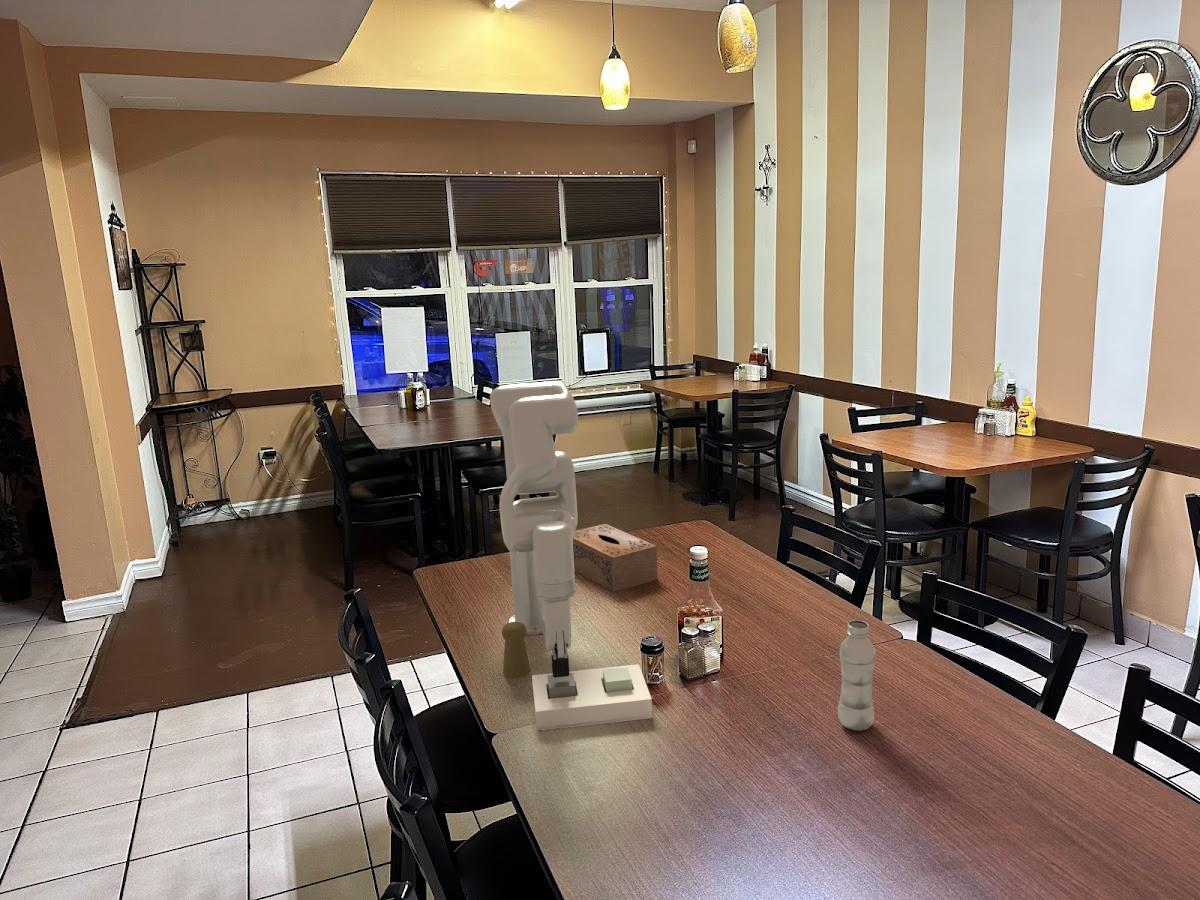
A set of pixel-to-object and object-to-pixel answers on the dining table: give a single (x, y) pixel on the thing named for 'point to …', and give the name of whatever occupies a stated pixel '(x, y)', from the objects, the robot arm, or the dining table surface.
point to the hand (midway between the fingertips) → (560, 674)
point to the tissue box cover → (614, 557)
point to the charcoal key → (561, 686)
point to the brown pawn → (515, 651)
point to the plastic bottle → (857, 678)
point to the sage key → (617, 680)
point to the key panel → (591, 701)
